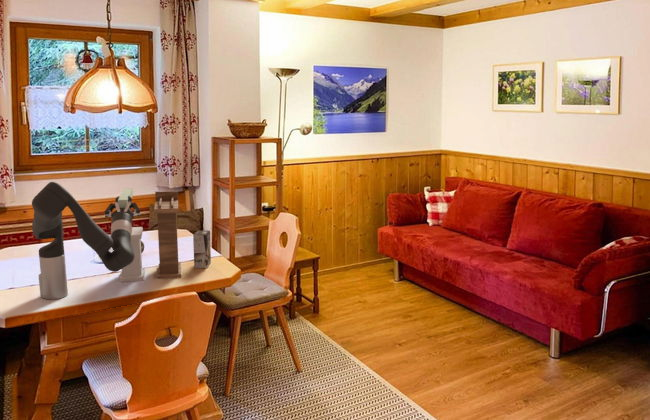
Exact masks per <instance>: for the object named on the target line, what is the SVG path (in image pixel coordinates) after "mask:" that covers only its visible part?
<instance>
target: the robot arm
mask: <svg viewBox="0 0 650 420" xmlns="http://www.w3.org/2000/svg"><path fill="white" fill-rule="evenodd" d="M119 197H120V195H119V196H117V197H115V199H114V200H115V201H114V203H113V202H112V203H111V202H110V204H108V206H107V208H106V209H105V210H104V217H105V218H110V219H111V224H110V225H111V226H110V235H109V234H108V233H107V232H105V230H103V228H101V227H100V226H99V225H98V224H97V223H96V222H95V220H94V219H92V217H91V216H90V215H89V214H88V213H87V212H86V210H85V209H84V208H83V206H81V204H80V203H79V202H78V200H76V198H75V197H74V196H73V195H72V194H71V193H70V191H68V190H67V189H66V188H65V187H64V186H63V185H62V184H60V183H58V182H55V181H50V182H48V183H47V184H46V185H45V186H44V187H43V188H42V189H41V190H40V191H39V192H38V193H37V194H36V195H35V196H34V197H33V199H32V200H31V206H32V207H31V208H32V209H33V220H32V222H31V223H32V224H31V230H32V234H33V236H34V237H35V238H36V239H37V240H46V239H47V240H48V239H53V240H52V241H51V242H49V243H47V244H46V245H43V246H41V247H40V248H39V249H38V259H39V269H40V270H39V271H40V273H39V274H38V284H39V285H38V286H39V294H40V296H39V297H40V298H41V299H42V298H43V299H45V300H59V299H63V298H65V297H67V296H68V295H69V293H68V292H69V291H68V290H69V289H68V280H67V279H68V278H67V267H66V255H65V254H66V253H65V246H64V223H63V211H64V210H65V209H66V208H68V209H69V210H70V211H71V213H72V215H73V217H74V219H75V223H76V225H77V230H78V234H79V235H80V238H81V239H82V241H83V243H85V244H86V245H87V246H88V247H89V248H91V249H92V250H93V251H94V252H96V255H98V257H99V259H100V260H101V262H102V264H103V265H104V267H105V268H106V269H107V270H108V271H109V272H112V273H113V272H119V271H120V270H121V271H122V268H124V267H126V266H127V265H129V264H131V263H132V262H133V260H134V257H135V256H134V252H133V249H132V246H131V243H130V242H131V234H132V227H133V219H135V217H136V216H137V217H141V210H140V208H139V206H138V204H137V203H136V202H133V197H132V198H131V197H130V196H128V205H126V208H119V205H118V199H119ZM132 209H133V210H134V211H132ZM111 249H112V251H110V250H111ZM113 250H114V251H113Z"/></svg>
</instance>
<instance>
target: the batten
mask: <svg viewBox="0 0 650 420" xmlns="http://www.w3.org/2000/svg"><path fill="white" fill-rule="evenodd" d="M133 194H134V193H133V188H123V190H122V192H121V193H120V195H119V199H118V205H119V208H126V205H128V196H130V197H131V198H132V199H133Z"/></svg>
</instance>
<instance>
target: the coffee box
mask: <svg viewBox="0 0 650 420" xmlns="http://www.w3.org/2000/svg"><path fill="white" fill-rule="evenodd" d="M192 245H193V267H194V268H195V269H199V268H200V269H207V268H208V267H209V266H210V265H211V263H212V254H211V253H212V252H211V250H212V249H211V230H196V232H195V233H193V244H192Z"/></svg>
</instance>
